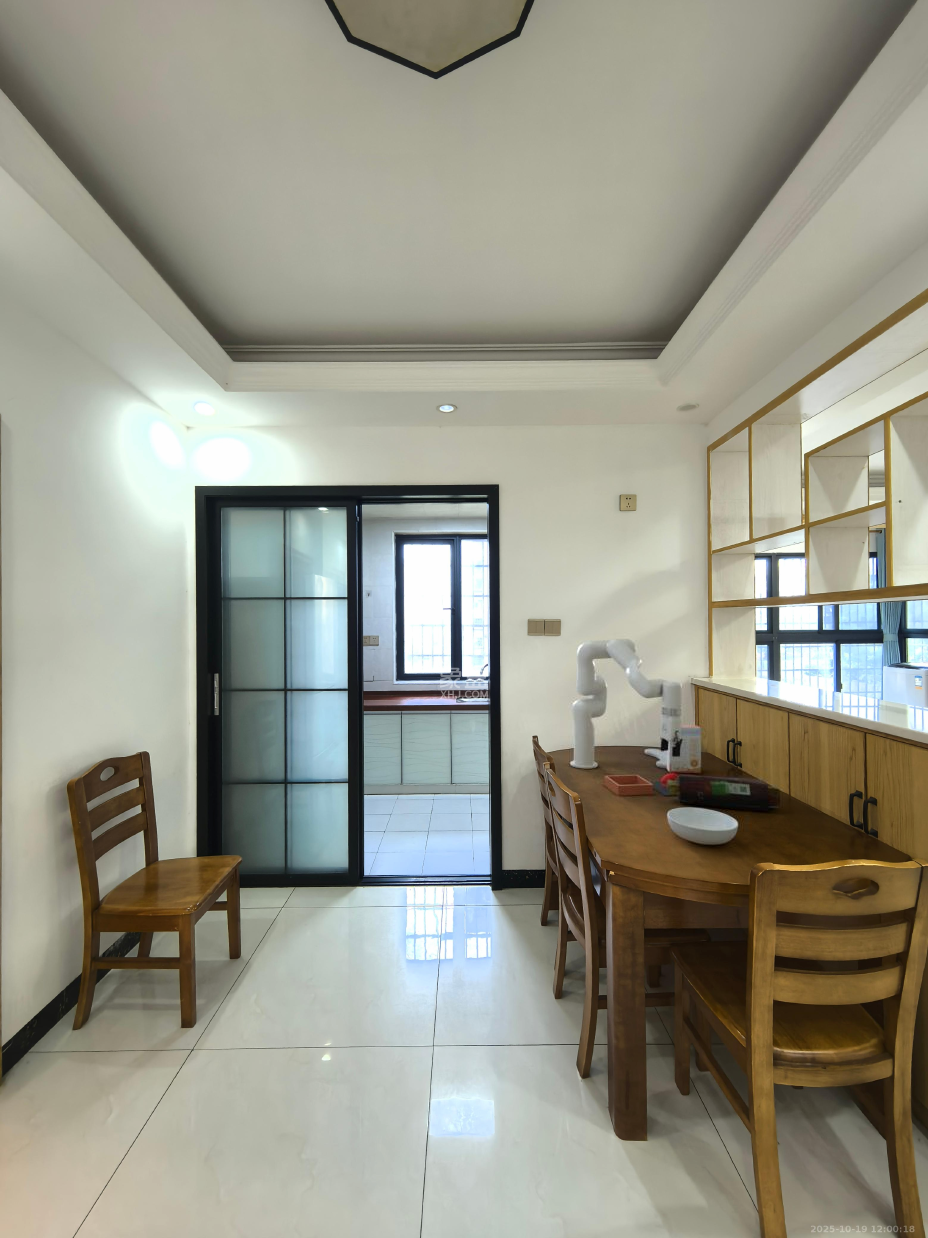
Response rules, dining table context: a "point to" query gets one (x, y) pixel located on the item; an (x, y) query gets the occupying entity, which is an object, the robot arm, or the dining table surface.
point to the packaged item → (725, 792)
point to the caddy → (628, 785)
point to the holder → (659, 755)
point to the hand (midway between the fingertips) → (670, 753)
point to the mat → (661, 788)
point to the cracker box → (686, 752)
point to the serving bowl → (702, 825)
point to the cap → (668, 778)
